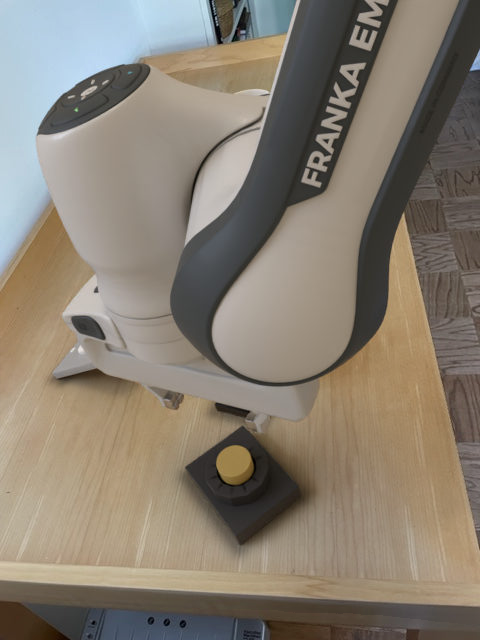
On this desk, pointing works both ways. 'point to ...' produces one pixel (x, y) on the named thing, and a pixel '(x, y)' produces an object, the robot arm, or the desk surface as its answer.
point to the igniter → (244, 487)
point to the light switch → (73, 363)
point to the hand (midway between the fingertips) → (215, 414)
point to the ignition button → (235, 465)
